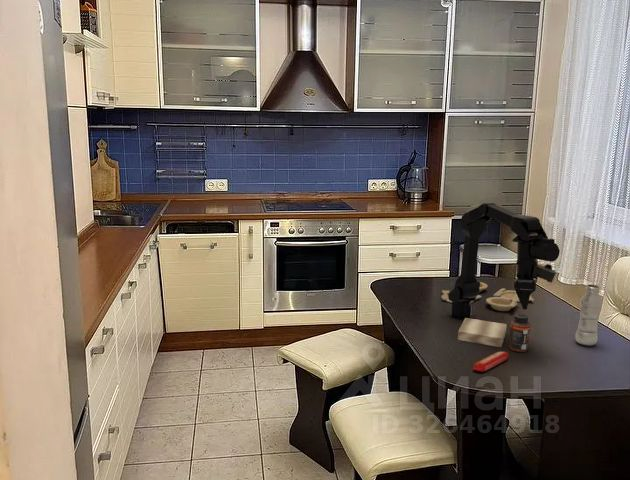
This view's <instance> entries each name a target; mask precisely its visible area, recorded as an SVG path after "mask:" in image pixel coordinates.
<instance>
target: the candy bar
mask: <svg viewBox="0 0 630 480" xmlns="http://www.w3.org/2000/svg"><path fill="white" fill-rule="evenodd" d="M508 358H509V353H508V352H506V351H496V352H494V353H492V354H490V355H488V356H486V357H484V358H481V360H478V361H477V362H475V363H474V364H473V368H472V370H474V371H476V372H486V371H488V370H490V369H493V368H494V367H496V366H498V365H500V364H501V363H503V362H505V361H507V360H508Z"/></svg>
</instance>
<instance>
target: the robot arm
mask: <svg viewBox="0 0 630 480" xmlns="http://www.w3.org/2000/svg"><path fill="white" fill-rule="evenodd" d="M492 219H493V220H494V221H496V222H497V221H498V222H499V223H501V224H502V225H503V224H504V225H506V226H507V227H509V228H510V230H511V232H513V233H514V234H515V235H516V236H515V237H514V238H512V240H511V241H512V242H515V243H517V250H516V251H517V253H516V274H515V277H516V279H515V280H514V281H513V282H514V283H513V289H514V291H516V293H517V296H518V298H519V300H520V302H519V303H520V305H521V307H522V309H523V310H527V309H528V307H529V298H530V295H531V294H533V293H534V292H535V291H536V290H537V283H538V278H540V279H542V280H545V281H547V282H548V283H553V281H554V279H555V277H556V274H557V271H556V270H555V269H553V265H552V264H549V263H550V262H555V261H556V260H557V259H558V258H559V257H560V248H559V245H558V244H557V243H555V240H556V239H555V238H549V237H548V235H547V233H546V231H545V229H544V227H543V226H542V224H541V221H540V219H539V218H538V217H537V216H532V215H526V214H525V215H523V214H518V213H516V212H513V211H511V210H509V209H506V208H504V207H501V206H499V205H497V203H494V202H483V203H481V204H480V205H479V206H477V207H476V208H473V209H471V210H469V211H468V212H464V214H463V215H461V219H460V221H461V223H460V226H461V231H462V233H463V235H464V243H463V250H462V259H461V260H462V262H461V269H460V270H461V271H460V275H459V276H458V278H457V279H456V280H455V282H454V283H455V284H454V286H453V287H454V288H453V289H452V290H451V291H449V294H448V298H449V300H450V301H452V303H451V314H450V316H449V317H450V318H451V319H457V320H459V319H460V320H464V319H465V318H471V317H472V312H473V305H472V303H471V301H474V302H475V301H476V300H477V299H476V296H477V295H479V293H481V292H480V290H479V287H480V282H481V281H478V279H477V277H476V270H477V262H478V254H479V253H478V252H479V245H480V237H481V236H482V234H483V233H484V232H485V231H486V225H487V223H489V222H490V221H491V220H492ZM538 260H540V261H546V262H549V263H545V265H540V264H538V262H539V261H538ZM478 292H479V293H478ZM475 299H476V300H475Z"/></svg>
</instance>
